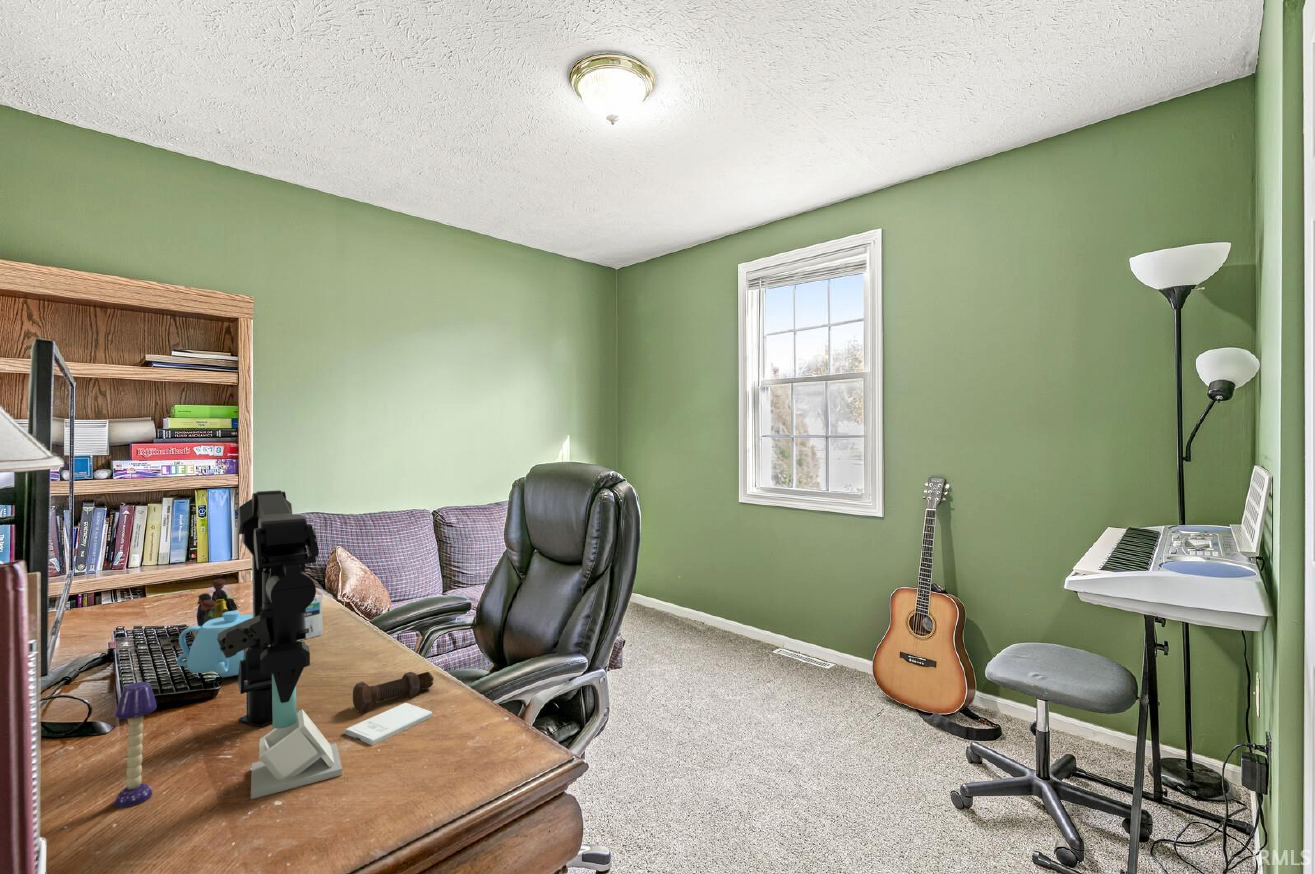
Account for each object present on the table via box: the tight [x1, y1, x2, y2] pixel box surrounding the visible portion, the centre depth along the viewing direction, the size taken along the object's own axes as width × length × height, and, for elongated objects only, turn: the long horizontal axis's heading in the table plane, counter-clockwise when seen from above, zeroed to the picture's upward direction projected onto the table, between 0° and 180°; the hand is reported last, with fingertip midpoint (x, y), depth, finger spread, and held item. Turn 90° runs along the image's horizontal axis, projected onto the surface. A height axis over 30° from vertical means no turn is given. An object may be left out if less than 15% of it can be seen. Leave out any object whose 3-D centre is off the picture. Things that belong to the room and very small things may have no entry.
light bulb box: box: [297, 593, 323, 642], centre depth 165 cm, size 11×7×11 cm, turn 58°
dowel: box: [272, 674, 297, 729], centre depth 97 cm, size 3×3×9 cm
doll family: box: [193, 578, 241, 637], centre depth 167 cm, size 23×9×13 cm, turn 49°
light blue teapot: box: [176, 610, 253, 678], centre depth 140 cm, size 16×16×14 cm
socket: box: [250, 708, 343, 800], centre depth 98 cm, size 12×10×8 cm
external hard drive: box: [344, 702, 433, 746], centre depth 114 cm, size 2×8×12 cm
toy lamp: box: [113, 681, 158, 808], centre depth 91 cm, size 5×5×17 cm
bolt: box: [352, 671, 435, 714], centre depth 125 cm, size 6×5×15 cm
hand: (284, 697), depth 97 cm, fingers closed on dowel, 3 cm apart
